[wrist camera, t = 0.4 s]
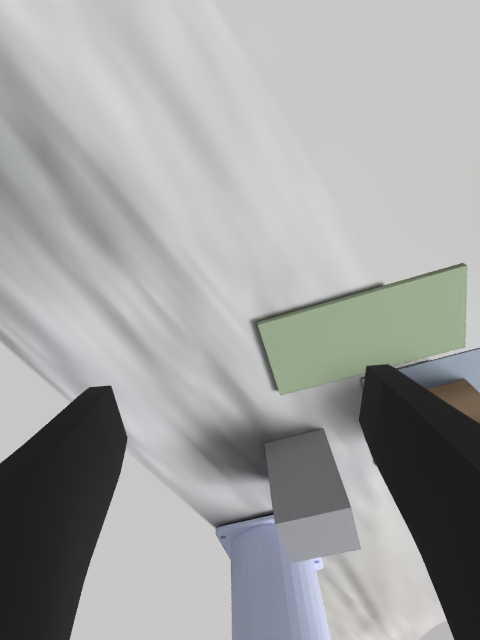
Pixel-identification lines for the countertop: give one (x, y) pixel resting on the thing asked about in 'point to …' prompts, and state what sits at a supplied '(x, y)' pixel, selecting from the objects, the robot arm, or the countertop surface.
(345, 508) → the grey block
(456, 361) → the blue card
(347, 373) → the rubber mat
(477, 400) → the walnut block
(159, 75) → the countertop surface
